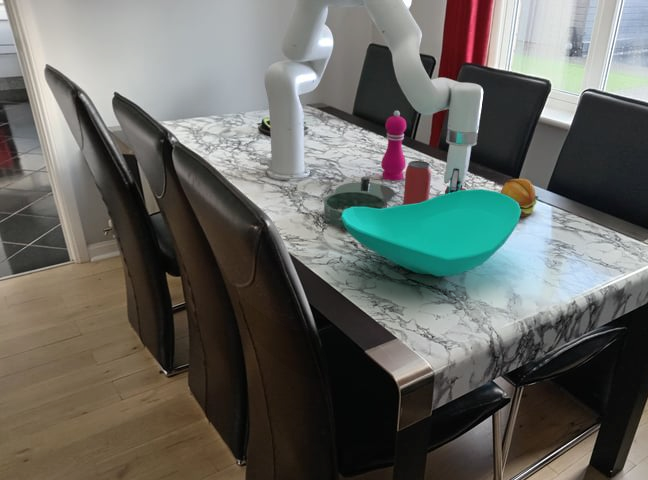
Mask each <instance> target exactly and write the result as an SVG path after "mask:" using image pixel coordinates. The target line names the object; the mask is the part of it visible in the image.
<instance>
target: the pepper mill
mask: <svg viewBox="0 0 648 480" xmlns="http://www.w3.org/2000/svg"><path fill="white" fill-rule="evenodd" d="M400 115H401V112H400V111H399V110H394V112H393V115H392V116H390V117H388V118H387V120H386V121H385V129H386V131H387V132H386V139H387V148H386V151H385V153H384V155H383V156H382V158H381V164H380V165H381V168H382V169H383V171H382V175H381V177H382V178H383V179H384V180H388V181H402V180H403V179H404V170H406V168H407V167H406V164H407V163H406V158H405V155H404V153H403V149H402V147H403V145H402V144H403V140H404V139H405V137H404V136H405V133H404V132H405V131H406V130H407V121H406V119H405V118H403V117H402V116H400Z"/></svg>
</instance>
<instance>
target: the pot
mask: <svg viewBox="0 0 648 480" xmlns="http://www.w3.org/2000/svg"><path fill="white" fill-rule="evenodd" d="M350 207H370V208H376V209H384V208H388V202H386V201H385V199H383V198H381V197H380V196H378V195H375V194H371V192H368V191H361V192H359V191H346V192H339V193H335V192H334V193H331V194H329V195H327V196H326V197H325V198H324V199H323V220H324V221H325V222H326V223H328V224H329V225H330V226H333V227H336V228H338V229H344V230H347V229H346V228H345V226H344V224H343V221H342V218H341V216H342V212H343V211H341V210H338V209H340V208H350Z"/></svg>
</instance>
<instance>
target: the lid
mask: <svg viewBox="0 0 648 480" xmlns="http://www.w3.org/2000/svg"><path fill="white" fill-rule="evenodd" d="M346 191H359V192H361V191H368V192H371V194H375V195H378V196H380V197H381V198H383V199H385V201H386V203H388V202H390V201H392V200H393V199H394V198H395V195H396V193H395V190H394V189H393V188H391V187H390V186H388V185H384V184H382V183H376V182H372V181H371V177H369V176H361V177H360V181H355V182H354V181H353V182H347V183H344V184H341V185H339V186H337V187H336V189H335V190H334V193H339V192H346Z"/></svg>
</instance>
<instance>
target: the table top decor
mask: <svg viewBox="0 0 648 480" xmlns="http://www.w3.org/2000/svg"><path fill="white" fill-rule="evenodd" d="M341 212H342V216H341V218H342V221H343V224H344V226H345V228H346V229H345V230H346V231H347V233H348V234H349V235H350V236H351V237H353V238H354V239H355V241H357V243H360V244H361V245H363V246H364V247H366V248H367V249H369V250H371V251H373V252H374V253H376V254H378V255H379V256H381V257H383V258H384V259H386V260H388V261H391V262H392V263H394V264H397V265H398V266H401V267H402V268H405V269H407V270H408V271H411V272H413V273H414V274H415V273H416V274H420V275H432V276H434V277H447V276H457V275H459V274H462V273H465V272H467V271H470V270H473V269H475V268H477V267H479V266H481V265H483V264H484V263H485V262H487V261H488V260H489V259H490V258H491V257H492V256H493V255H494V254H495V253H497V251H498V250H499V249H500V248H502V247H503V246H504V245H505V244H506V243H507V241H508V239H509V238H510V237H511V235H512V233H513V232H514V231H515V229H516V227H517V225H518V224H519V222H520V217H521V216H520V214H521V209H520V207H519V204H518V202H516V201H515V200H513V199H512V198H511V197H509V196H507V195H504V194H501V192H499V191H495V190H488V189H483V188H476V189H475V188H474V189H466V190H461V191H457V192H452V193H448V194H445V193H444V194H440V195H437V196H435V197H432V198H429V200H426V201H424V202H421V203H416V204H408V205H403V204H401V205H394V206H389V207H387V208H384V209H376V208H370V207H346V208H344V209H343V210H342V211H341Z"/></svg>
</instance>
